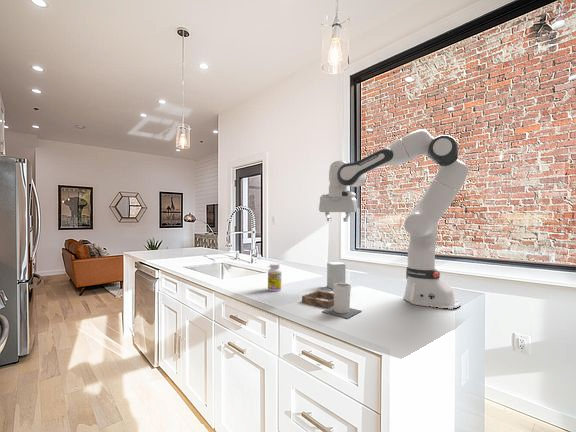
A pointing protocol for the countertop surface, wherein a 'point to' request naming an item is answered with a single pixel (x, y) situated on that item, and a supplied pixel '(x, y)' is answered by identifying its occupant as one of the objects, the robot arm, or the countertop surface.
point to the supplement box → (335, 273)
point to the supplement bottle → (274, 277)
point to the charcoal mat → (343, 315)
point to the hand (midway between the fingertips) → (337, 221)
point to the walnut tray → (312, 299)
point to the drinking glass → (342, 297)
